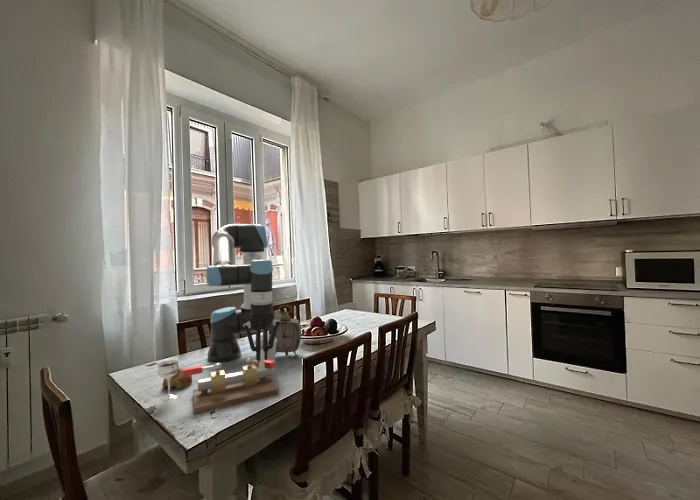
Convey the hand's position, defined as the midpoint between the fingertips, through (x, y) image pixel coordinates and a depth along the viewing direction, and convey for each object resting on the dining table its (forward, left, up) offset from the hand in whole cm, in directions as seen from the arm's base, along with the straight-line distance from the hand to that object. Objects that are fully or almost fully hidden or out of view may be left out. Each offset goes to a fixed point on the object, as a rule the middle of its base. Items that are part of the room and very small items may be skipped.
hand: (261, 369), depth 112 cm
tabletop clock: (-35, +19, -10) cm, 41 cm away
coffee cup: (-20, +6, -10) cm, 23 cm away
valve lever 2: (-4, 0, 0) cm, 4 cm away
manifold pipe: (-8, -8, -7) cm, 14 cm away
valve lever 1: (-8, -19, 0) cm, 20 cm away
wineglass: (-16, -29, -10) cm, 35 cm away
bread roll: (-26, -27, -10) cm, 38 cm away
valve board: (-6, -8, -9) cm, 14 cm away
